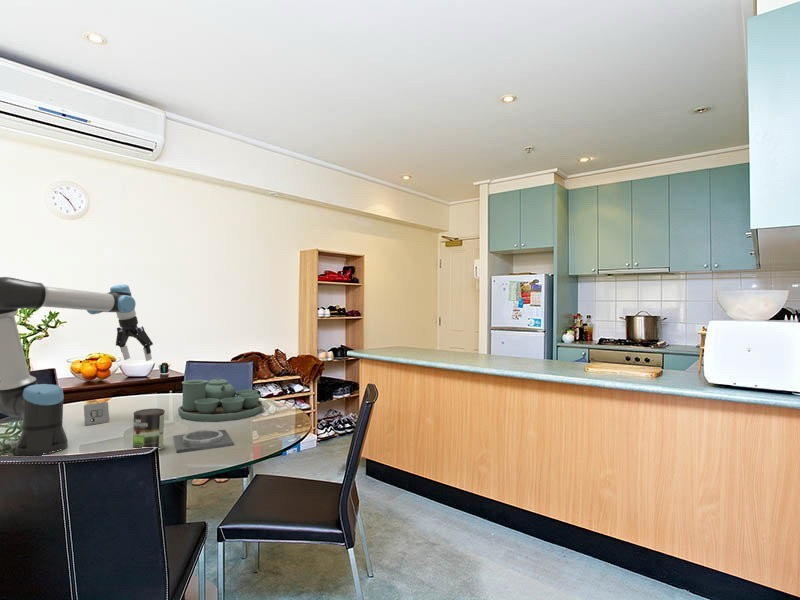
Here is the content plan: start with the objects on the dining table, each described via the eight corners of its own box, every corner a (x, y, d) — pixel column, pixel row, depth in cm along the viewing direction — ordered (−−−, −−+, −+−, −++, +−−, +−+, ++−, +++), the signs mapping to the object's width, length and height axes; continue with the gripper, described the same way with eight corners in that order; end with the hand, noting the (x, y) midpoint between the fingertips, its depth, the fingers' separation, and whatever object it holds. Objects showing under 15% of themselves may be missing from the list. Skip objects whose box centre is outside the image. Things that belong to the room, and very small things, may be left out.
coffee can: (147, 454, 162) (148, 415, 162) (125, 451, 165) (126, 413, 165) (169, 446, 172) (170, 409, 172) (148, 443, 175) (149, 407, 175)
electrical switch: (85, 426, 196) (85, 405, 197) (81, 425, 199) (81, 404, 200) (109, 422, 203) (109, 401, 204) (105, 421, 206) (105, 401, 207)
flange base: (176, 452, 164) (177, 446, 164) (173, 438, 182) (173, 432, 182) (233, 445, 175) (233, 438, 175) (224, 431, 192) (225, 426, 192)
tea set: (215, 427, 200) (216, 390, 200) (161, 414, 219) (162, 381, 219) (279, 409, 235) (280, 378, 235) (227, 400, 254) (228, 371, 254)
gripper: (154, 315, 208) (164, 357, 213) (114, 315, 216) (124, 355, 221) (141, 320, 201) (152, 363, 207) (100, 319, 209) (111, 361, 214)
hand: (138, 359), depth 214 cm, fingers open, 13 cm apart
